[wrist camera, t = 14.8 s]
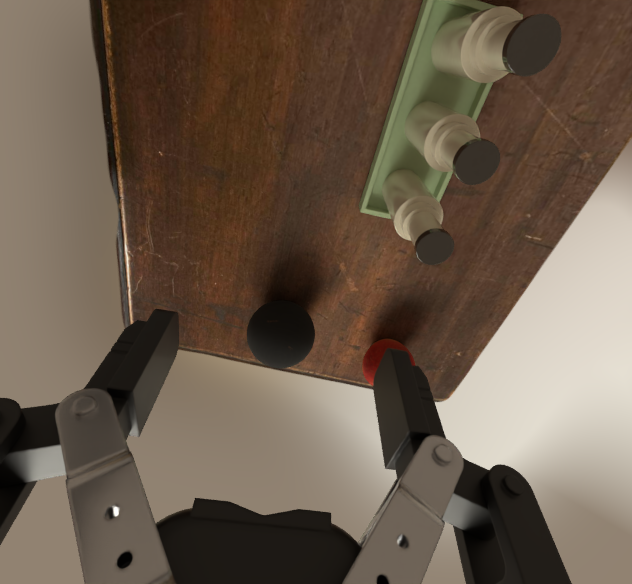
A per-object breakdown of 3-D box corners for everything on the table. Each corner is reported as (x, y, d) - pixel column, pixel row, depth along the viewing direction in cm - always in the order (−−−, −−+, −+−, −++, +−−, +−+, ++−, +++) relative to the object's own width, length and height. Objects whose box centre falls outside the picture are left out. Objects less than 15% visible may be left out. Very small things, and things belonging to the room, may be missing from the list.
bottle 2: (414, 95, 38) (462, 120, 25) (456, 106, 39) (525, 137, 26) (397, 142, 41) (433, 187, 28) (437, 153, 42) (491, 201, 28)
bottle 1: (443, 9, 34) (519, -16, 21) (490, 23, 35) (594, 8, 21) (423, 68, 37) (479, 80, 24) (467, 81, 37) (545, 99, 24)
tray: (426, -11, 34) (431, -15, 32) (513, 16, 35) (523, 14, 33) (358, 205, 46) (359, 212, 44) (424, 221, 47) (428, 227, 45)
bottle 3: (389, 164, 42) (419, 216, 29) (428, 173, 43) (474, 229, 30) (376, 203, 45) (398, 267, 32) (412, 211, 46) (449, 277, 33)
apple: (417, 337, 59) (433, 384, 51) (392, 367, 63) (402, 415, 55) (376, 321, 57) (385, 367, 49) (352, 353, 61) (357, 401, 53)
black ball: (281, 275, 52) (274, 318, 44) (328, 313, 56) (329, 358, 48) (240, 312, 56) (226, 357, 48) (286, 345, 60) (280, 392, 52)
